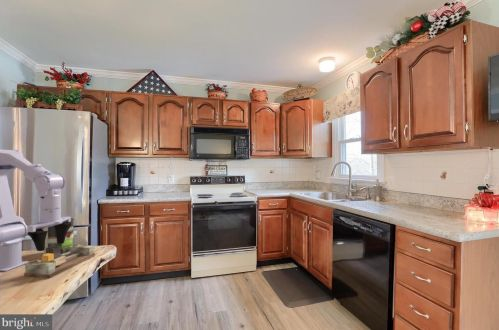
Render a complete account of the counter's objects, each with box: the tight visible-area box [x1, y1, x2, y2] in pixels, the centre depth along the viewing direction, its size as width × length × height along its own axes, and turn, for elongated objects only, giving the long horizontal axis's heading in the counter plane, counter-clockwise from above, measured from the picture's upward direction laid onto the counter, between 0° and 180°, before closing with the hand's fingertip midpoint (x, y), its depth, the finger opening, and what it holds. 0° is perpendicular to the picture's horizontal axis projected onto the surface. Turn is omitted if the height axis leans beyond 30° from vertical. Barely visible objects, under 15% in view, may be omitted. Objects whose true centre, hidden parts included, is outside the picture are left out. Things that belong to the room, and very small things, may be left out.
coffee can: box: [43, 217, 74, 256], centre depth 105 cm, size 10×10×14 cm
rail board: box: [23, 243, 96, 279], centre depth 92 cm, size 10×20×5 cm, turn 172°
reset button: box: [41, 253, 54, 262], centre depth 83 cm, size 2×2×2 cm
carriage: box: [40, 245, 66, 266], centre depth 88 cm, size 6×4×6 cm, turn 83°
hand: (51, 246), depth 86 cm, fingers open, 7 cm apart
